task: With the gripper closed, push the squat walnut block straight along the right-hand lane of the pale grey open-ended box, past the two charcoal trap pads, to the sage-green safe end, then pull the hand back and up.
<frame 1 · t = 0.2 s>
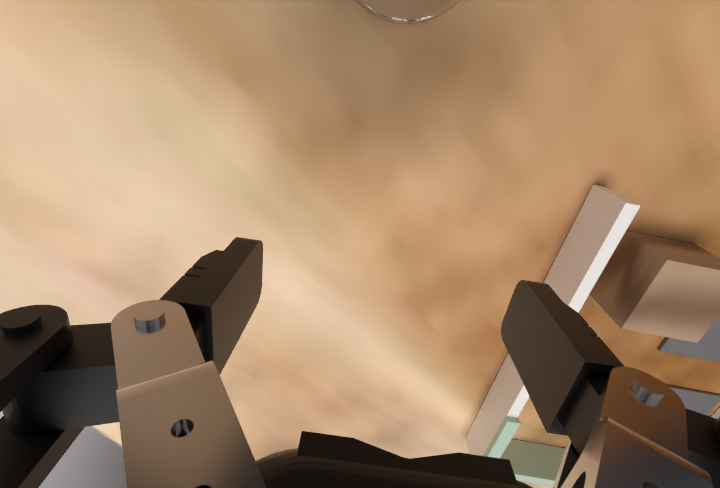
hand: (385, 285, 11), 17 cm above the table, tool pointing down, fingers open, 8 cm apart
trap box: (638, 358, 34), on the table
walnut block: (637, 268, 30), on the table
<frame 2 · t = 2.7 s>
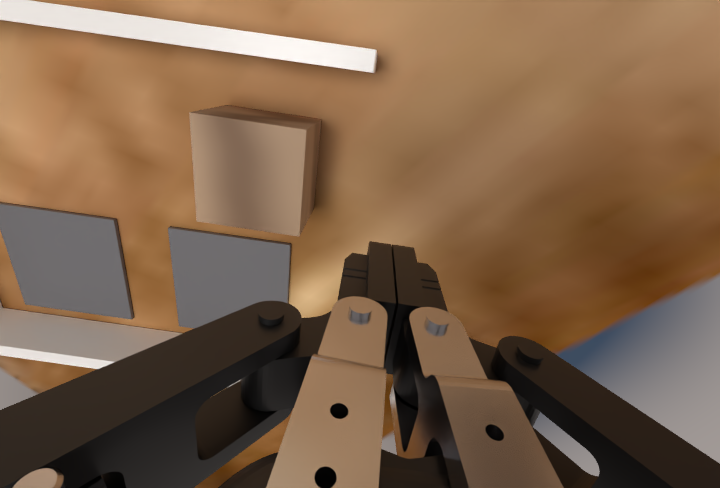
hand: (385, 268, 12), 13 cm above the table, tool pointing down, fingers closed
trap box: (148, 210, 26), on the table
walnut block: (273, 159, 24), on the table
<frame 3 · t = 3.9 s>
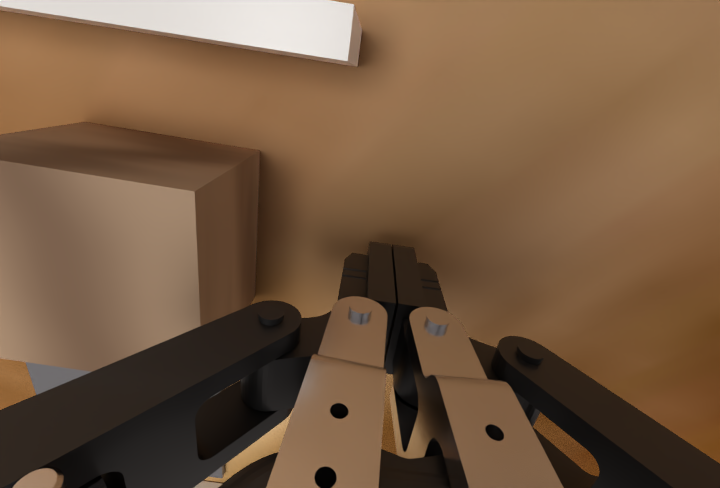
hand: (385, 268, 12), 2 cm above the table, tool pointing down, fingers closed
walnut block: (180, 216, 14), on the table
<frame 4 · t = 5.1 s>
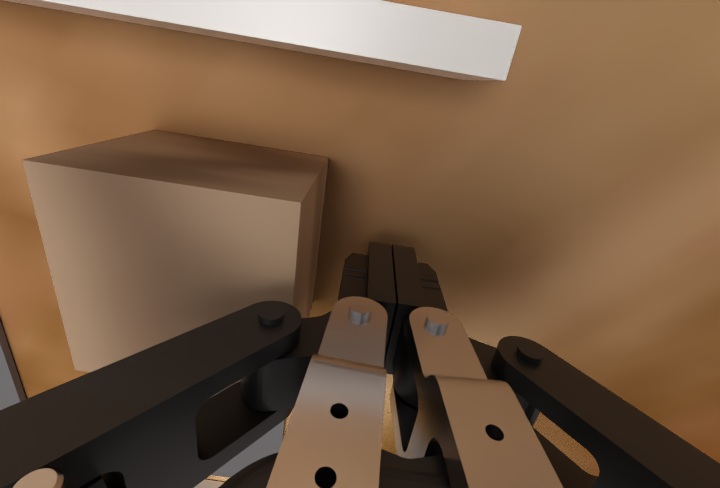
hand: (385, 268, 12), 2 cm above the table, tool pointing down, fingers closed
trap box: (49, 299, 15), on the table
walnut block: (241, 224, 14), on the table, touching gripper
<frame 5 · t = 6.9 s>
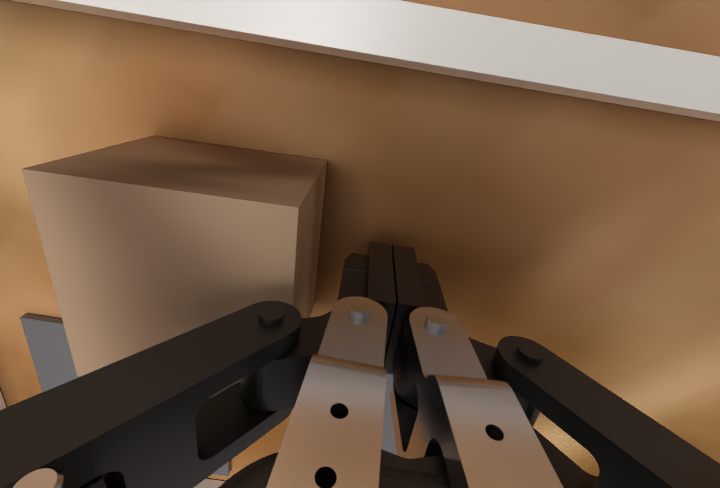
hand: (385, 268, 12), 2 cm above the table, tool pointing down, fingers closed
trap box: (287, 334, 16), on the table
walnut block: (241, 228, 14), on the table, touching gripper
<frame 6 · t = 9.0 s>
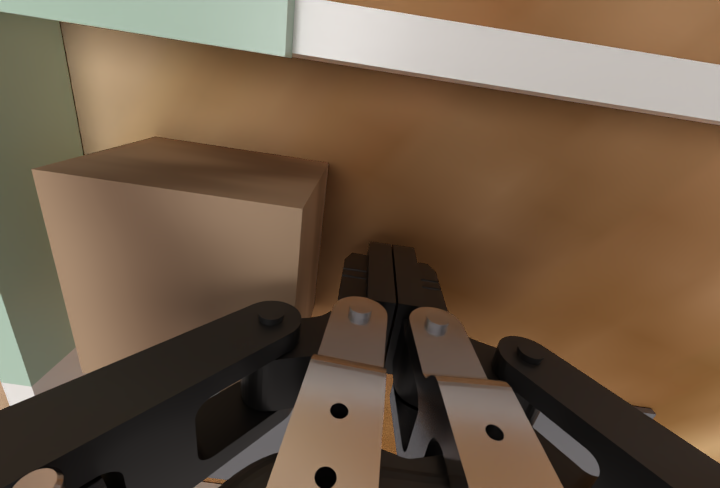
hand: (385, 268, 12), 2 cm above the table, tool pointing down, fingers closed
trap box: (431, 360, 16), on the table
walnut block: (243, 227, 14), on the table
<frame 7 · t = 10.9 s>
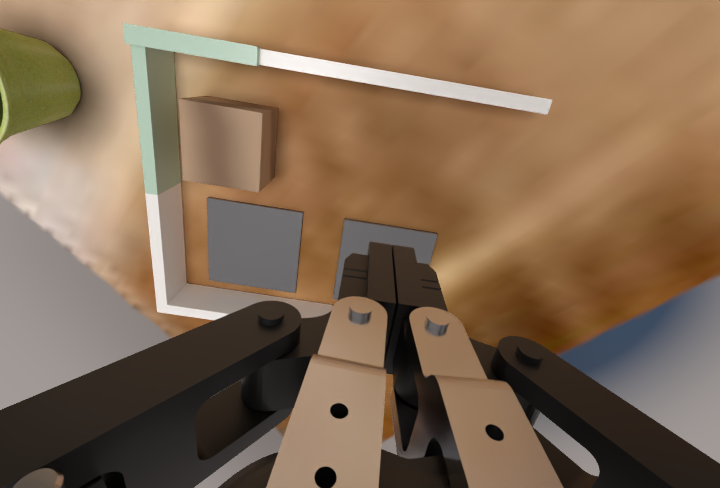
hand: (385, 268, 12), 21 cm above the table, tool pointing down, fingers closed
plant pot: (46, 80, 30), on the table
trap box: (330, 206, 34), on the table
walnut block: (242, 138, 31), on the table
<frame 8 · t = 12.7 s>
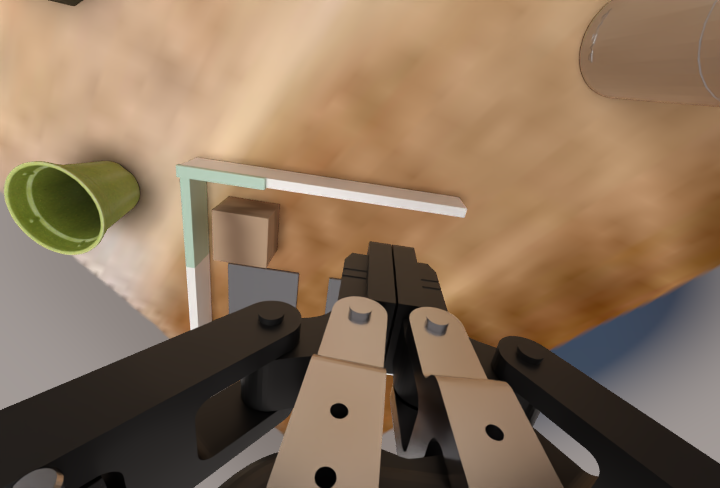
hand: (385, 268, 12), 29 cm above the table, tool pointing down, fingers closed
plant pot: (115, 186, 42), on the table
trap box: (318, 269, 46), on the table
walnut block: (254, 223, 44), on the table
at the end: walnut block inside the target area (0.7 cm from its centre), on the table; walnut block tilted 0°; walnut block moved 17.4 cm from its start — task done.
